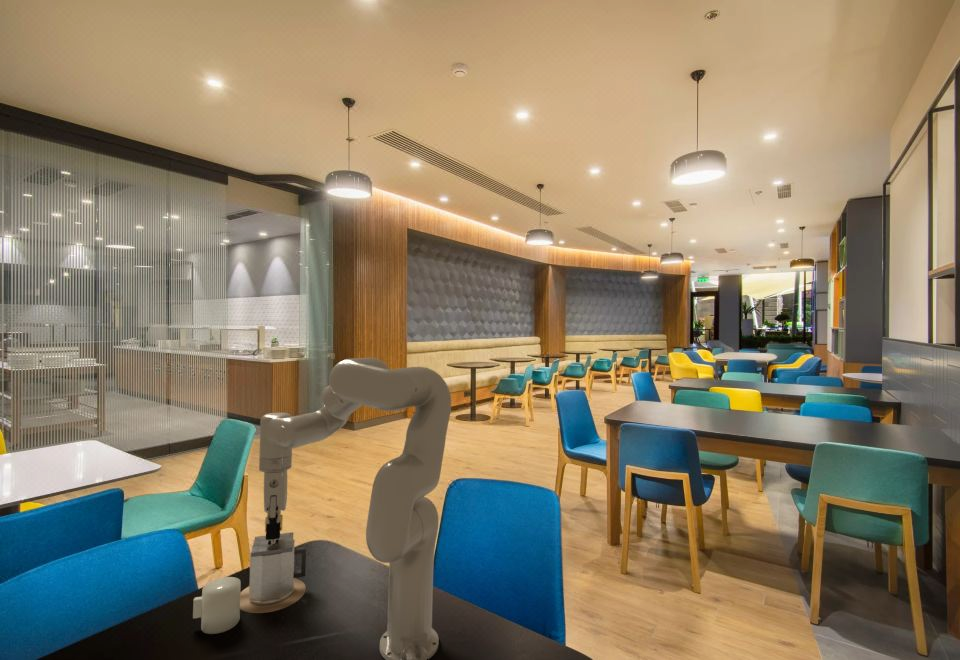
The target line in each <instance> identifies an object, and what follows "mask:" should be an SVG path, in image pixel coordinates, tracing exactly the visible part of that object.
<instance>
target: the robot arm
mask: <svg viewBox="0 0 960 660" xmlns="http://www.w3.org/2000/svg"><path fill="white" fill-rule="evenodd" d="M321 401H322V405H323V406H322V407H320V408H319V409H318V410H316V411H314V412H309V413H303V414H297V415H295V416H292V414H290V413H288V412H270V413H266V414H264V415H262V416H261V419H260V423H259V425H260V426H259V427H260V428H259V430H260V431H259V434H260V435H259V458H258V471H259V472H263V511H264V512H265V513H267V514H266V517H267V523H266V532H265V536H266V540H272V539H279V538H280V534H281V531H280V522H279V516H280V514H281V512H282V511H283V512H284V511H285V510H286V509H287V503H288V500H287V499H288V470H290V469H291V468H292V463H293V461H292V460H293V459H292V457H293V456H292V455H293V449H296V448H297V449H298V448H299V447H304V446H307V445H310V444H314V443H317V442H321V441H324V440H325V439H327V438H329V437H331V436H332V435H333V434H334V433H337V431H339V430H340V429H342V427H344V426H345V425H346V424H347V423H348V420H349V419H350V417H351V414H352V413H354V412H355V411H357V410H358V409H359V408H361V407H363V406H364V407H366V408H367V407H368V408H372V409H375V410H378V411H383V412H398V411H402V410H405V409H409V408H413V407H414V412H413V414H412V416H411V419H410V420H409V423H408V426H407V430H406V434H405V442H404V447H403V449H402V453H401V454H400V455H399V456H397V457H395V458H392V459H390V460H389V461H387V462H385V463H384V464H383V465H382V466H381V467H379V470H378V471H377V473H376V475H375V477H374V480H373V483H372V489H371V494H370V501H369V509H368V513H367V521H366V529H365V538H366V539H365V540H366V541H365V542H366V546H367V549H368V551H369V553H370V555H371V556H372V557H373V559H375V560H377V561H378V562H380V563H383V564H388V596H387V628H386V629H387V630H386V631H385V632H384V633H383V634H382V636H381V637H380V640H379V652H380V655H381V656H382V657H383V659H384V660H427V659H428V660H430V659H431V658H432V657H433V656H434V655H435V654H436V653H437V652H438V648H439V644H440V643H439V639H440V637H439V635H438V633H437V631H436V630H435V629H434V627H433V600H434V599H433V592H434V588H433V587H434V567H435V565H434V563H435V562H434V560H435V559H434V558H435V548H436V542H437V536H438V530H439V511H438V510H437V507H436V506H435V503H434V502H433V501H432V500H431V499H429V498H428V497H426V496H427V495H429V494H430V493H432V492H433V491H434V490H435V489H436V487H438V484H439V483H440V477H441V472H442V471H441V470H442V465H443V459H444V453H445V447H446V439H447V433H448V428H449V423H450V417H451V410H452V398H451V392H450V388H449V386H448V384H447V382H446V381H445V380H444V378H443V377H442V376H441V375H440V374H439V373H438V372H437V371H435V370H433V369H432V368H429V367H424V366H423V367H422V366H410V367H401V368H400V367H399V368H392V369H391V368H389V367H388V365H387V363H386V362H384V361H383V360H381V359H380V358H377V357H354V358H352V357H351V358H347V359H346V358H345V359H344V360H341V361H339V362H338V363H336V364H335V365H334V366H333V368H332V369H331V371H330V374H329V377H328V385H327V386H326V387H325V388H324V389H323V390H322V394H321ZM276 514H277V515H276ZM281 515H282V514H281Z"/></svg>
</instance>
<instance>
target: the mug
mask: <svg viewBox="0 0 960 660" xmlns="http://www.w3.org/2000/svg"><path fill="white" fill-rule="evenodd" d="M241 582H242V581H241V579H240V578H238V577H236V576H235V577H234V576H226V577H220V578H216V579H214V580H211V581H209V582H207V583H206V584H205V585H204V586H203V588H202V590H201V591H202V593H201V596H196V597H194V598H193V602H192V603H193V607H192V610H193V611H192V619H199V618H200V619H201V622H200V623H201V624H200V630H201V631H202V633H204V634H207V635H214V634H215V635H216V634H220V633H225V632H227V631H230V630H231V629H233V628H234V627H236V625H238V623H239V622H240V619H241V617H240V615H241V613H240V612H241V609H240V593H241V589H242V587H241V586H242V585H241Z"/></svg>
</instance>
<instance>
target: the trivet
mask: <svg viewBox="0 0 960 660" xmlns="http://www.w3.org/2000/svg"><path fill="white" fill-rule="evenodd" d="M293 584H294V592H293V594H292V595H291V596H290V597H289V598H288V599H286V600H285V601H283V602H280V603H277V604H274V605H268V606H258V605H254V604H252V603H251V602H250V601H249V586H247V587H246V588H244V589H243V590H242V591H240V611H243V612H245V613H252V614H264V613H267V614H268V613H271V612H276V611H280V610H282V609H283V610H284V609H286V608H287V607H290V606H291V605H293V604H295V603H296V602H298V601H299V600H300V599H301V598H302V597H303V596H304V595H305V593H306V589H307V588H306V584H305V583H304V582H303V581H302V580H300V579H298V578H294V583H293Z"/></svg>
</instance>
